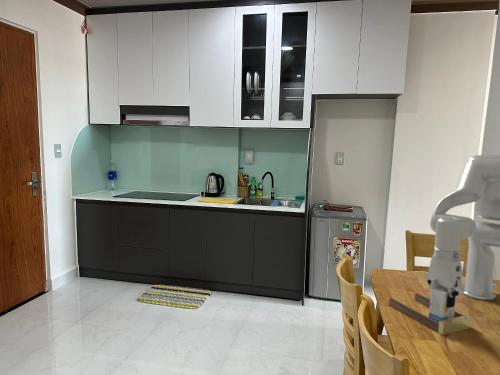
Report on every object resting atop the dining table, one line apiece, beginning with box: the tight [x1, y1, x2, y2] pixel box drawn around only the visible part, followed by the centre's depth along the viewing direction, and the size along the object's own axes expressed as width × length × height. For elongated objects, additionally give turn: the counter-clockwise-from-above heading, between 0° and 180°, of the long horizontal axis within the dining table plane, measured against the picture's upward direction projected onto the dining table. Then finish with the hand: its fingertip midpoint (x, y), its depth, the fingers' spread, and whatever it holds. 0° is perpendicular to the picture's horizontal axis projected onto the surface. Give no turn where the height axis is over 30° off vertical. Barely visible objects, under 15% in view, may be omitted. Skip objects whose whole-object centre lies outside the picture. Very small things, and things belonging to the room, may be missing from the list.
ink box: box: [428, 280, 458, 323], centre depth 122 cm, size 8×5×15 cm, turn 123°
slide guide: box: [388, 292, 474, 336], centre depth 127 cm, size 14×24×4 cm, turn 22°
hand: (442, 302), depth 122 cm, fingers closed on ink box, 5 cm apart
